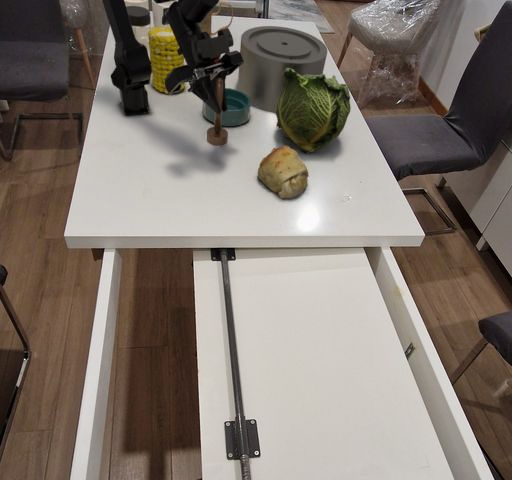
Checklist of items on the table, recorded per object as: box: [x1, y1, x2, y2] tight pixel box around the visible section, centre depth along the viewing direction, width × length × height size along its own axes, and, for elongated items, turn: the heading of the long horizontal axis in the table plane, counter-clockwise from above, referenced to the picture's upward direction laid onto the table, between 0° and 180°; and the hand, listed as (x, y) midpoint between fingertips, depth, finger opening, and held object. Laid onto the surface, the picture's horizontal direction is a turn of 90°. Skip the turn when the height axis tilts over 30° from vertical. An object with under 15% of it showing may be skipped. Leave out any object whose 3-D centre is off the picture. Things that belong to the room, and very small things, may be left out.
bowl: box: [202, 87, 252, 127], centre depth 118 cm, size 13×13×4 cm
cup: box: [151, 0, 178, 28], centre depth 130 cm, size 7×7×15 cm
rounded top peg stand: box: [206, 78, 229, 147], centre depth 94 cm, size 5×5×14 cm
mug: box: [199, 1, 234, 38], centre depth 142 cm, size 12×18×12 cm, turn 89°
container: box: [236, 25, 328, 114], centre depth 126 cm, size 25×25×13 cm
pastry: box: [257, 145, 309, 200], centre depth 101 cm, size 14×12×8 cm
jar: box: [126, 6, 152, 61], centre depth 130 cm, size 9×8×12 cm
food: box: [148, 26, 186, 95], centre depth 120 cm, size 15×12×10 cm
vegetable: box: [275, 68, 352, 155], centre depth 109 cm, size 20×19×20 cm
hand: (222, 112), depth 94 cm, fingers closed on rounded top peg stand
